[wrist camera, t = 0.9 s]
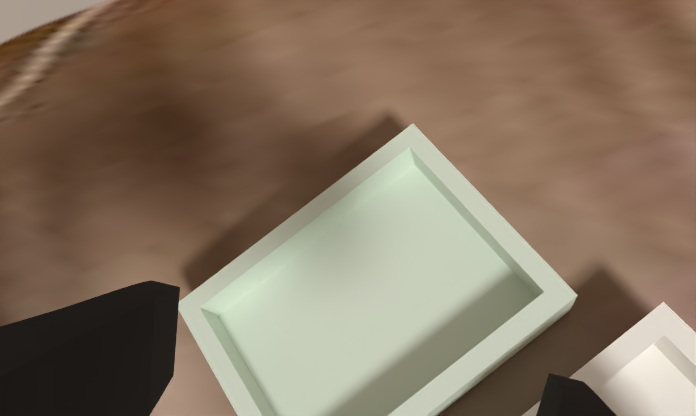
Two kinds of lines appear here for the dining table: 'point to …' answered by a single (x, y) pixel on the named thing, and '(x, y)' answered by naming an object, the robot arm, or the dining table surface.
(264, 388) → the sage tray
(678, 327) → the cream dish
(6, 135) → the dining table surface
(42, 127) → the dining table surface
